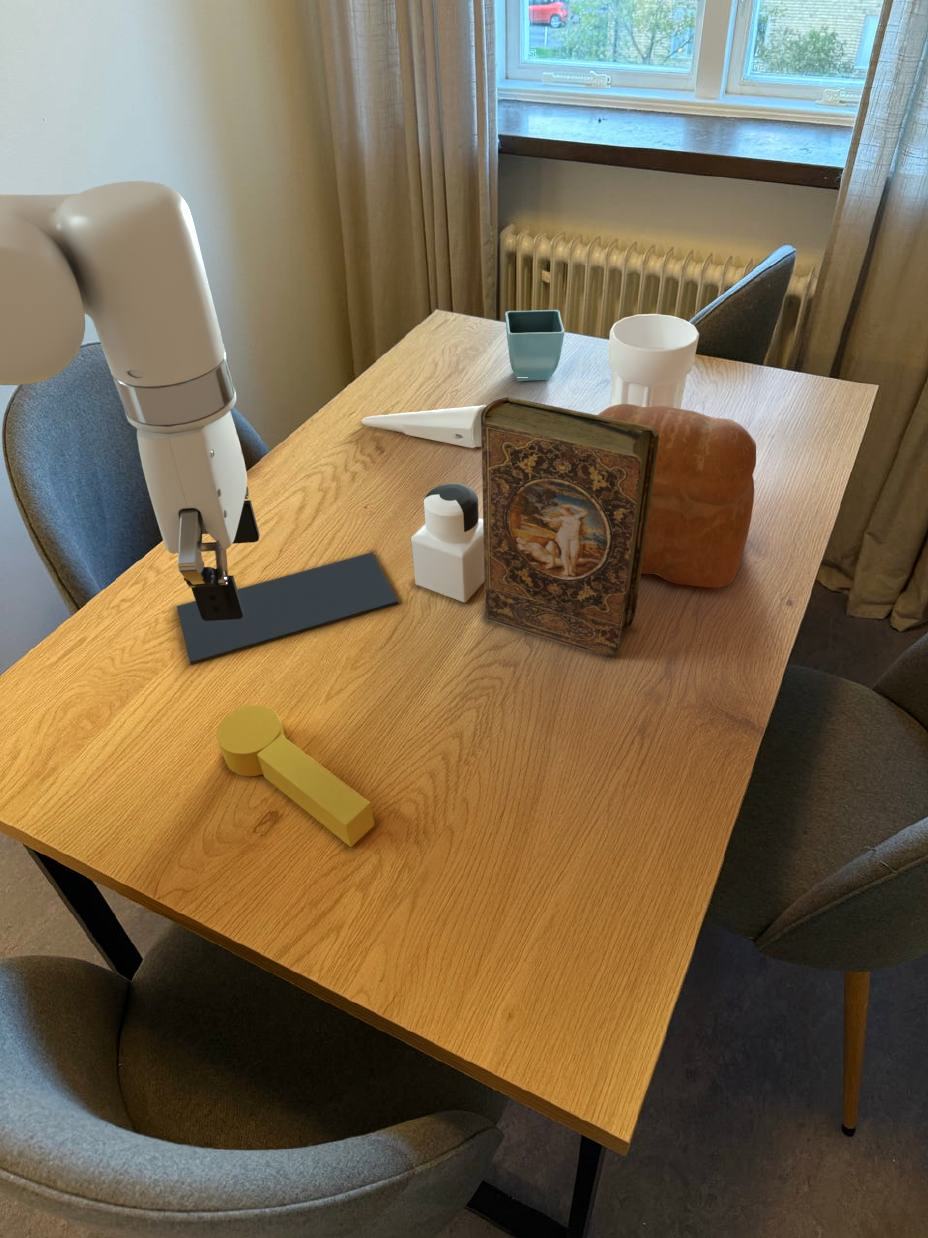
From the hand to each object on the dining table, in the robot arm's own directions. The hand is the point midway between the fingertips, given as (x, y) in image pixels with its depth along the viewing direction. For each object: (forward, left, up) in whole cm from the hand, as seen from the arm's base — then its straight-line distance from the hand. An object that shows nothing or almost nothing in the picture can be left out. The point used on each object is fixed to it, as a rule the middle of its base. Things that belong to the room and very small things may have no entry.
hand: (233, 577), depth 69 cm
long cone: (+52, +28, -21) cm, 63 cm away
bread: (+49, -13, -21) cm, 55 cm away
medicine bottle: (+29, +2, -21) cm, 36 cm away
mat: (+13, +14, -21) cm, 29 cm away
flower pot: (+76, +26, -21) cm, 83 cm away
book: (+30, -12, -21) cm, 39 cm away
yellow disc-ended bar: (-3, -6, -21) cm, 22 cm away
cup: (+67, 0, -21) cm, 71 cm away
